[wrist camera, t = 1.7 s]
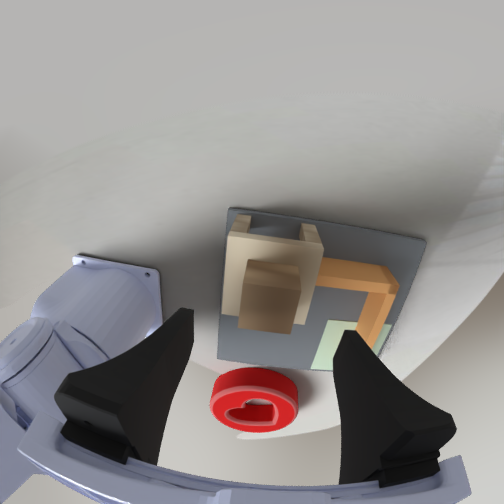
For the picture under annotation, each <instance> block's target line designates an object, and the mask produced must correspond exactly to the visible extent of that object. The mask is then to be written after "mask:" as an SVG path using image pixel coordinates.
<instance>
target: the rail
mask: <svg viewBox="0 0 504 504" xmlns="http://www.w3.org/2000/svg"><path fill="white" fill-rule="evenodd" d="M315 285H316V286H324V287H332V288H340V289H348V290H357V291H366V292H369V293H368V296H367V299H366V301H365V304H364V307H363V309H362V312H361V315H360V317H359V320H358V323H357V326H356V328H355V330H356V331H357V332H358V333H359V334H360V336H361V337H362V338H363V339H364V341H365V342H366V343H367V344H368V346H369V347H370V348H371V349H372V348H373V346H374V344H375V341H376V339H377V337H378V335H379V333H380V331H381V329H382V327H383V324H384V322H385V320H386V318H387V315H388V313H389V311H390V308H391V306H392V304H393V301H394V299H395V296H396V294H397V291H398V289H399V286H400V285H399V284H398V282H397V281H396V279H395V278H394V276H393V275H392V273H391V272H390V270H389V269H388V267H387V266H382V265H375V264H368V263H361V262H354V261H347V260H340V259H333V258H326V257H322V261H321V265H320V269H319V273H318V277H317V281H316V284H315Z"/></svg>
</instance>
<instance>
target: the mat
mask: <svg viewBox="0 0 504 504" xmlns="http://www.w3.org/2000/svg"><path fill="white" fill-rule="evenodd" d="M237 214H242V215H249V216H251V223H250V230H249V234H256V235H264V236H271V237H278V238H285V239H292V240H299V241H300V238H299V233H300V228H301V223H305V224H312V225H315V226H316V229H317V232H318V234H319V237H320V239H321V242H322V245H323V248H324V252H323V256H322V257H326V258H333V259H340V260H347V261H354V262H361V263H368V264H375V265H382V266H387V267H388V269H389V270H390V272H391V273H392V275H393V276H394V278H395V279H396V281H397V282H398V284H399V285H400V286H399V289H398V291H397V294H396V296H395V299H394V301H393V304H392V306H391V308H390V311H389V313H388V315H387V318H386V320H385V322H384V324H392V326H391V328H390V330H389V333H388V335H387V337H386V339H385V341H384V343H383V345H382V347H381V349H380V351H379V353H378V354H377V357H378V356H379V354H380V353H381V351H382V349H383V347H384V345H385V343H386V341H387V339H388V337H389V335H390V333H391V331H392V329H393V326H394V324H395V322H396V320H397V318H398V316H399V313H400V311H401V309H402V307H403V304H404V302H405V300H406V297H407V295H408V292H409V290H410V287H411V285H412V282H413V280H414V277H415V275H416V272H417V269H418V267H419V264H420V261H421V258H422V255H423V252H424V249H425V246H426V243H427V242H426V241H425V240H423V239H418V238H413V237H408V236H403V235H398V234H393V233H388V232H382V231H377V230H372V229H366V228H360V227H355V226H349V225H343V224H337V223H331V222H325V221H319V220H313V219H306V218H300V217H293V216H286V215H279V214H272V213H265V212H258V211H251V210H243V209H235V208H229V209H228V215H227V226H226V238H225V250H224V262H223V275H222V288H221V303H220V318H219V334H218V351H217V359H221V360H227V361H233V362H240V363H247V364H254V365H262V366H271V367H280V368H290V369H302V370H315V371H332V372H333V370H319V369H311V366H312V363H313V361H314V358H315V355H316V352H317V350H318V347H319V344H320V341H321V339H322V336H323V333H324V330H325V327H326V324H327V321H328V319H332V320H342V321H354V322H358V320H359V317H360V315H361V312H362V309H363V307H364V304H365V301H366V299H367V296H368V293H369V292H366V291H357V290H348V289H340V288H332V287H324V286H316V285H315V288H314V292H313V296H312V300H311V303H310V307H309V310H308V314H307V318H306V321H305V325H301V324H293V327H292V331H291V334H290V335H289V334H280V333H272V332H264V331H257V330H249V329H242V328H238V320H239V316H232V315H226V314H222V300H223V287H224V274H225V262H226V250H227V238H228V234H229V232H230V229H231V227H232V225H233V223H234V220H235V218H236V216H237Z"/></svg>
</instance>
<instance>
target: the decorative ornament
mask: <svg viewBox="0 0 504 504" xmlns="http://www.w3.org/2000/svg"><path fill="white" fill-rule="evenodd" d="M251 399H264V400H267V401H269V402H271V403H272V404H273V405H248V404H246V402H247V401H248V400H251ZM210 410H211V412H212V414H213V415H214V417H215V418H216V419H217V420H218V421H220V422H221V423H223V424H224V425H226V426H228V427H231V428H233V429H237V430H240V431H245V432H253V433H262V432H271V431H276V430H279V429H282V428H284V427H286V426H288V425H289V424H291V423H292V422H293V421H294V419H295V418H296V416H297V414H298V391H297V388H296V385H295V384H294V383H293V381H291V380H290V379H289V378H288V377H286V376H284V375H282V374H280V373H278V372H275V371H272V370H268V369H263V368H240V369H235V370H232V371H229V372H227V373H225V374H221V375H220V376H219V377H218V378H217V379H216V381H215V383H214V388H213V392H212V396H211V400H210Z"/></svg>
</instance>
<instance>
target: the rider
mask: <svg viewBox="0 0 504 504" xmlns="http://www.w3.org/2000/svg"><path fill="white" fill-rule="evenodd" d="M250 223H251V216H249V215H242V214H237V216H236V218H235V220H234V223H233V225H232V227H231V229H230V232H229V234H228V238H227V250H226V262H225V274H224V287H223V300H222V314H226V315H232V316H239V320H238V328H242V329H249V330H257V331H264V332H272V333H280V334H289V335H290V334H291V331H292V327H293V324H301V325H305V321H306V318H307V314H308V310H309V307H310V303H311V300H312V296H313V292H314V288H315V284H316V281H317V277H318V273H319V269H320V265H321V261H322V256H323V252H324V248H323V245H322V242H321V239H320V237H319V234H318V232H317V229H316V226H315V225H312V224H305V223H301V228H300V233H299V238H300V241H299V240H292V239H285V238H278V237H271V236H264V235H256V234H249V230H250Z"/></svg>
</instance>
